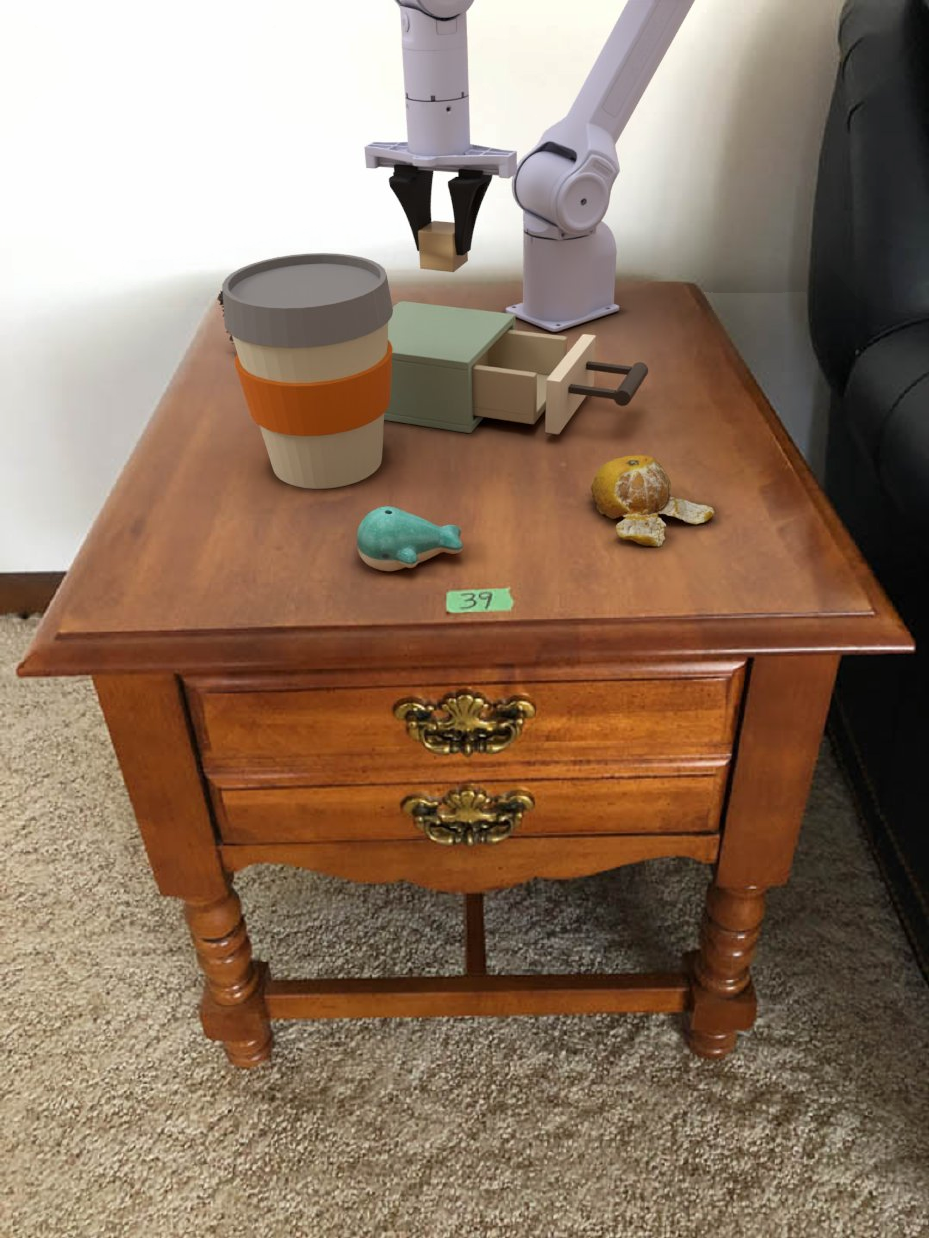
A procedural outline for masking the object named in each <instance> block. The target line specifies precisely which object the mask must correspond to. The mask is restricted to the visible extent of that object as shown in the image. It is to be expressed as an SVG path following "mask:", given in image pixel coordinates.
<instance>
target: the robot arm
mask: <svg viewBox="0 0 929 1238" xmlns="http://www.w3.org/2000/svg"><path fill="white" fill-rule="evenodd" d="M695 1H696V0H627V1H626V3H625V5H624V7H623V9H622V11H621V13H620V15H619V17H618V19H617V21H616V22H615V24H614V25H613V28H612V30H611V32H610V34H609V35H608V38H607V39H606V41H605V43H604V45H603V47H602V48H601V50H600V52H599V54H598V56H597V58H596V60H595V61H594V64H593V65H592V67H591V69H590V71H589V73H588V75H587V77H586V78H585V81H584V83H583V84H582V86H581V87H580V90H579V91H578V93H577V95H576V97H575V100H574V101H573V103H572V105H571V107H570V108H569V111H568V112H567V115H565V117H563V118H562V119H561V120H559V121H557V122H556V123H554V124H553V125H551V126H550V127H548V128H547V129H546V130H544V132H543V133H542V135H541V137H540V138H539V140H538V142H537V143H536V145H535V146H534V147H533V148H532V149H531V150H530V151H528V152H527V153H526V154H525V155H523V156H522V157H521V158H520V159H519V161H518V151H517V150H509V149H501V148H495V147H490V146H483V145H479V144H473V143H471V126H470V125H471V124H470V121H471V120H470V94H469V93H470V90H469V89H470V87H469V85H470V84H469V57H468V56H469V53H468V52H469V51H468V49H469V48H468V47H469V46H468V21H467V19H468V18H467V12H468V11H469V10H470V8H471V7H472V6H473V3H474V2H475V0H394V2H395V3H396V5H397V6H398V7H399V12H400V29H401V53H402V70H403V85H404V86H403V88H404V101H405V119H406V135H407V137H406V138H407V141H388V142H387V141H373V142H371V143H369V144H367V145H365V146H364V159H365V168H366V169H378V168H387V169H389V168H390V169H393V172H392V175H391V176H390V177H388V184H389V185H388V186H389V188H390V189H391V190H392V192H393V193H394V195H395V197H396V198H397V200H398V202H399V204H400V206H401V207H402V210H403V212H404V214H405V217H406V219H407V222H408V225H409V228H410V231H411V234H412V236H413V240H414V244H415V247H416V251H417V252H419V238H418V231H419V230H421V229H422V228H424V227H425V226H426V225H428V224H429V223H431V222H432V221H433V220H432V190H433V179H434V172H441V173H443V172H445V173H456V174H457V176H454V177H453V178H451V179H449V180H448V181H447V188H448V193H449V196H450V201H451V206H452V207H451V208H452V213H453V223H454V224H455V248H456V254H457V255H461V256H462V255H465V254H466V253H467V252H468V253H469V252H470V251H471V249H472V244H473V243H472V241H473V235H474V231H475V228H476V227H475V226H476V222H477V218H478V215H479V212H480V209H481V206H482V203H483V201H484V198H485V195H486V193H487V191H488V188H489V186H490V184H491V183H492V180H493V176H498V177H499V178H500V179H511V192H512V197H513V199H514V201H515V203H516V205H517V206H518V207H519V208H520V210H522V222H523V223H522V233H523V234H522V235H523V236H522V302H520V303H516V304H513V305H511V306H507V307H505V313H509V314H515V315H516V318H518V319H519V320H523V321H526V322H527V323H530V324H532V325H535V326H538V327H540V328H542V329H544V330H547V331H549V332H552V333H555V332H557V333H558V332H561V331H563V330H566V329H568V328H572V327H574V326H578V325H581V324H584V323H586V322H590V321H592V320H595V319H598V318H601V317H604V316H607V315H610V314H613V313H617V312H619V311H620V306H619V305H618V304H616V303H615V291H616V290H615V287H616V271H617V255H618V254H617V252H618V251H617V250H618V249H617V244H616V243H617V242H616V239H615V236H614V233H613V231H612V229H611V228H610V226H609V225H608V224H606V223H605V222H604V221H603V219H604V218H605V215H606V213H607V211H608V209H609V205H610V199H611V194H612V189H613V185H614V183H615V181H616V179H617V178H618V176H619V174H620V172H621V169H620V162H619V158H618V153H617V149H616V144H617V143H618V140H619V139H620V137H621V135H622V134H623V132H624V130H625V129H626V126H627V124H628V122H629V121H630V119H631V117H632V115H633V114H634V112H635V110H636V108H637V106H638V104H639V103H640V101H641V99H642V97H643V96H644V93H645V92H646V90H647V88H648V86H649V85H650V83H651V81H652V79H653V78H654V75H655V74H656V72H657V70H658V68H659V66H660V65H661V63H662V61H663V60H664V57H665V56H666V54H667V52H668V50H669V48H670V47H671V45H672V43H673V41H674V39H675V38H676V36H677V33H678V32H679V30H680V28H681V26H682V24H683V23H684V21H685V19H686V18H687V15H688V14H689V12H690V10H691V8H692V7H693V4H694V3H695Z"/></svg>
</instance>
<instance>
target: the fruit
mask: <svg viewBox="0 0 929 1238" xmlns="http://www.w3.org/2000/svg"><path fill="white" fill-rule="evenodd" d="M590 491H591V494H592V498H593V499H594V501H595V503H596V504H597V505H596V509H597V510H598V512H599V514H600V515H601V516H602V515H605V516H606V517H608V518H610V519H612V520H614V519H617V518H619V517H623V520H621V521H619V522H618V523H616V525H615V531H616V535H617V536H618V537H619V538H620V539H622V540H631V541H634V542H635V543H637V544H639V545H641V546H646V547H647V546H652V547H660V546H662V545H663V542H664V541H665V540H666V537H665V531H666V528H667V524H666V523H665V522H664V521H663V520H662V517H659V515H666V516H670V517H674V518H677V519H679V520H683V521H684V522H685V523H689V524H692V525H698V524H701V523H705V522H707V521H708V520H710V519H711V518H712V517H713V516H714V515H715V510H714V508H713V507H711V506H709V505H706V504H699V503H697V502H691V501H689V500H687V499H682V498H678V497H675V496H672V484H671V480H670V477H669V475H668V474H667V472H666V470H665V468H664V467H663V466H662V465H661V463H660V462H659V461H658V459H656V458H654V457H652V456H648V455H644V454H636V455H624V456H622V457H617V458H614V459H611V460H609V461H607V462H606V463H604V464H603V465H601V467H600V468H599V469H598V471H597V472H596V474H595V476H594V479H593V482H592V483H591V485H590Z"/></svg>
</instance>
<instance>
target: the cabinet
mask: <svg viewBox="0 0 929 1238" xmlns="http://www.w3.org/2000/svg"><path fill="white" fill-rule="evenodd" d="M392 307H393V314H392V317H391V318H390V320H389V323H388V340H389V341H390V342H391V345H392V348H393V351H392V371H391V390H390V403H389V407H388V408H387V410H386V412H385V413H384V421H389V422H394V423H402V424H408V425H415V426H421V427H427V428H433V429H440V430H446V431H453V432H459V433H466V434H471V433H472V432H473V431H474V430H475V429H476V427H477V426H479V424H480V423H481V421H482V420H483V419H484V418H485V417H481V416H474V415H473V409H472V374H471V367H472V366H473V365H474V364H475V363H476V362H477V361H478V360H479V359H480V358H481V357H482V355H483V354H484V353H485V352H486V351H487V350H488V349H489V348H490V347H491V346H492V345H493V344H494V343H495V342H496V341H497V340H498V339H499V338H500V337H501V336H502V335H503V334H504V333H505V332H506V331H507V330H516V331H517V327H516V325H517V324H516V322H517V321H516V320H517V319H516V318H517V317H516V315H515V314H509V313H506V312H499V311H492V310H491V311H490V310H482V309H475V308H464V307H457V306H448V305H447V306H446V305H441V304H440V305H438V304H430V303H422V302H421V303H420V302H412V301H403V300H400V301H399V302H397V303H396V304H395V305H394V306H392Z"/></svg>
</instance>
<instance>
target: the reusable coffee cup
mask: <svg viewBox="0 0 929 1238" xmlns="http://www.w3.org/2000/svg"><path fill="white" fill-rule="evenodd" d="M221 287H222V288H221V289H222V290H221V291H223V305H222V306H224V308H223V309H224V312H223V314H224V317H223V318H224V319H223V321H224V328H225V330H226V331H228V333H227V334H229V333H230V334H231V335H232V337H233V341H232V342H233V343H234V344H235V346H234V348H235V347H236V348H235V350H236V356H235V358H234V366H235V368H236V372H237V376H238V379H239V382H240V386H241V388H242V392H243V396H244V398H245V401H246V404H247V407H248V410H249V414H250V416H251V419H252V420H253V421H254V423H256V424H257V425H258V426H259V429H260V432H261V434H262V438H263V441H264V445H265V448H266V452H267V455H268V458H269V460H270V464H271V467H272V471H273V472H274V474H275V476H276V477H277V478H278V479H279V480H280V481H282V482H284V483H285V484H288V485H291V486H293V487H298V488H302V489H313V490H321V489H323V490H324V489H334V488H340V487H345V486H349V485H352V484H355V483H358V482H360V481H362V480H366V479H367V478H368V477H370V476H371V475H373V474H374V473H375V472H376V471H377V470H378V469H379V468H380V466H381V464H382V461H383V449H384V448H383V447H384V446H383V445H384V427H385V420H384V413H385V412H386V410H387V408H388V407H389V403H390V390H391V371H392V351H393V348H392V345H391V342H390V341H389V340H388V323H389V320H390V318H391V317H392V314H393V307H394V306H393V302H392V297H391V291H390V285H389V281H388V274H387V272H386V269H385V268H384V267H383V266H382V265H381V264H380V263H378V262H376V261H374V260H371V259H369V258H366V257H362V256H357V255H352V254H343V253H328V252H317V253H315V252H314V253H299V254H290V255H284V256H277V257H272V258H268V259H264V260H260V261H257V262H254V263H251V264H248V265H245V266H243V267H240V268H239V269H237V270H235V271H233V272H232V273H230V274H229V275H228V276H227V277H226V278H225V279H224V280H223V282H222V285H221ZM230 334H229V335H230ZM231 335H230V336H231Z"/></svg>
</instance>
